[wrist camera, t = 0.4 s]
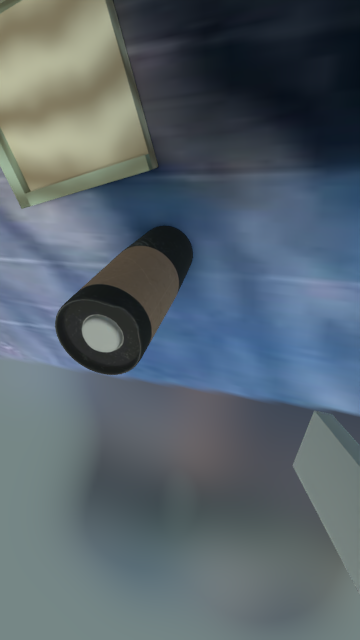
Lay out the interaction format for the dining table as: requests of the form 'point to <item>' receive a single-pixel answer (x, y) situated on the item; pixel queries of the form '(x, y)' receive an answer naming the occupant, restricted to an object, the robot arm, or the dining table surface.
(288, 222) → the dining table surface
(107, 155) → the tray
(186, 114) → the dining table surface
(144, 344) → the travel mug
